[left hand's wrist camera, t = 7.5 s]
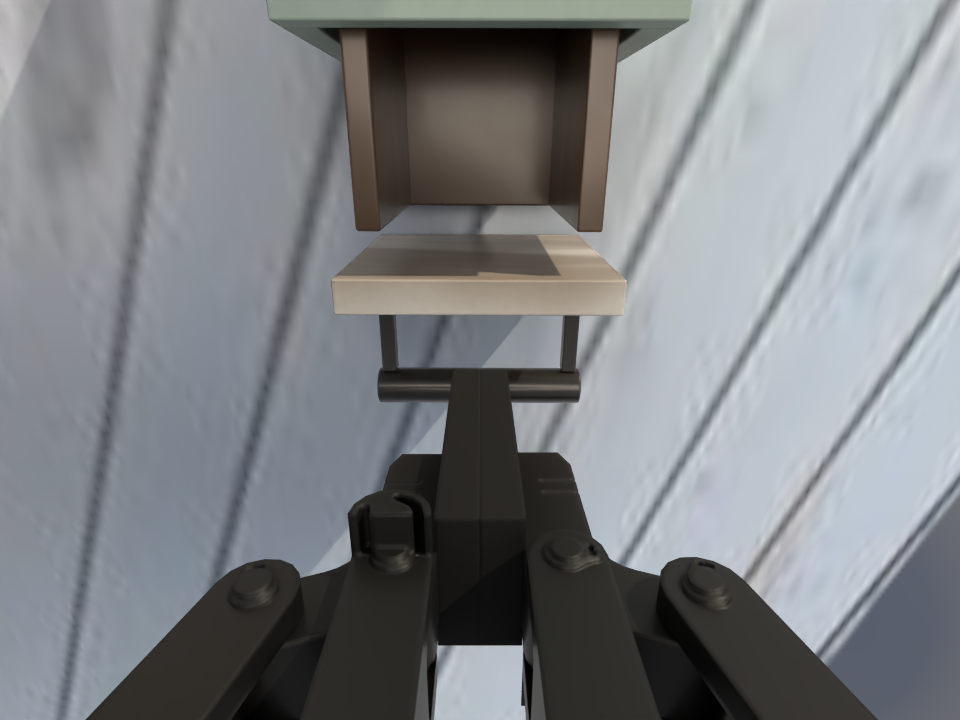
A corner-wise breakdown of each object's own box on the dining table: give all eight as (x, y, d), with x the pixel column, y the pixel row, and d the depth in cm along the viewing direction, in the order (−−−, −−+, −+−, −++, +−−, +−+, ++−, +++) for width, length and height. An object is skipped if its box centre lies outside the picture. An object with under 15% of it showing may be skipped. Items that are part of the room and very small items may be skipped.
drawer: (570, 358, 28) (608, 453, 19) (389, 358, 28) (348, 452, 19) (614, -264, 19) (723, -597, 10) (347, -264, 19) (236, -597, 10)
